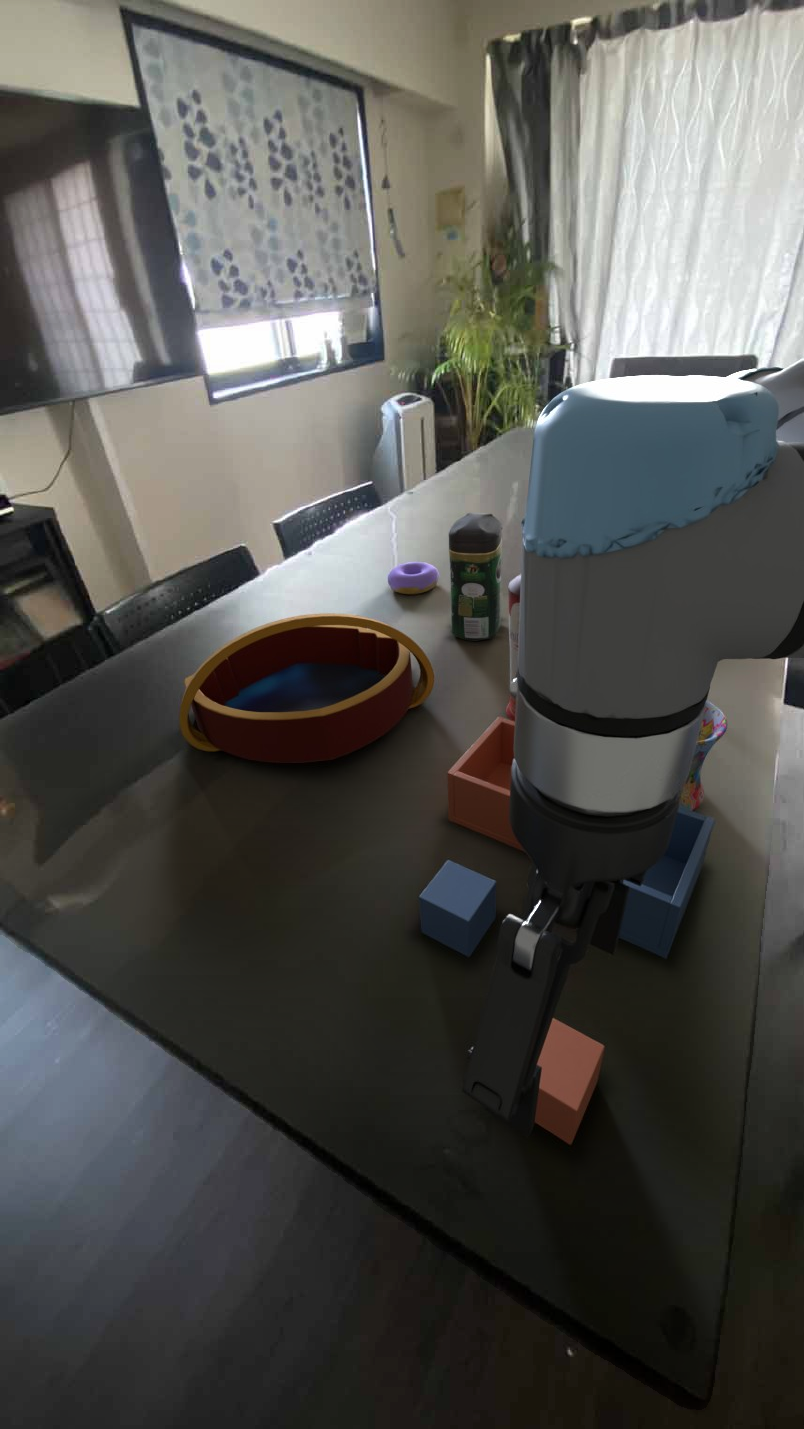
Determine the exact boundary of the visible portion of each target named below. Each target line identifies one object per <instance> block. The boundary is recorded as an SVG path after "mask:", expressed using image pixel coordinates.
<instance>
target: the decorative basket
mask: <svg viewBox="0 0 804 1429" xmlns="http://www.w3.org/2000/svg"><path fill="white" fill-rule="evenodd" d="M411 654H412V655H413V656H414V658H415V660H416V661H417V663H418V666H419V679H418V682H417V684H416V686H415V687H414V684H413V683H414V681H413V670H412V659H411ZM183 680H184V685H185V690H184V693H183V696H182V698H181V703H180V707H179V716H178V717H179V718H178V719H179V720H178V722H179V729H180V732H181V734H182V736H183V738H184V739H185V740H186V742H187V743H188V744H189V745H191V746H192V747H194V748H196V749H198V750H200V751H204V752H219V751H220V752H221V751H222V752H224V753H228V754H230V755H233V756H236V757H239V758H242V759H246V760H251V761H255V762H257V761H258V762H263V763H277V764H278V763H280V764H294V763H295V764H296V763H297V764H298V763H300V764H301V763H312V762H320V761H331V760H335V759H337V758H340V757H343V756H345V755H348V754H351V753H353V752H355V751H357V750H359V749H361V748H363V747H366V746H367V745H369V744H371V743H372V742H374V741H376V740H377V739H379V738H381V737H382V736H384V735H385V734H386V733H388V732H389V731H391V729H393V728H394V727H395V726H396V725H397V724H398V723H399V722H400V721H401V720H402V719H403V717H404V716H405V714H406V713H407V711H408V710H409V709H412V708H415V707H418V706H419V705H421V704H423V703H424V702H425V701H426V700H427V699H428V698H429V696H430V695H431V693H432V691H433V689H434V684H435V672H434V669H433V666H432V664H431V661H430V659H429V658H428V656H427V655H426V653H425V651H424V650H423V649H422V648H421V647H420V646H419V645H418V644H417V643H416V642H415V641H414V640H413V639H412V638H411V637H409V636H408V635H406V634H405V633H404V632H402V631H400V630H399V629H397V628H395V627H393V626H391V625H389V624H387V623H385V622H382V621H381V620H380V621H379V620H377V619H373V618H370V617H365V616H361V615H355V614H348V613H334V612H333V613H330V612H329V613H328V612H327V613H311V614H309V613H308V614H302V615H295V616H290V617H285V618H281V619H278V620H273V621H271V622H268V623H267V622H266V623H265V624H262V625H259V626H257V627H255V628H252V629H250V630H248V631H246V632H244V633H242V634H240V635H238V636H236V637H234V638H232V639H231V640H229V641H228V642H226V643H225V644H223V645H222V646H220V647H219V648H218V649H217V650H215V651H214V652H213V653H212V654H210V656H208V657H207V658H206V659H205V660H204V661H203V662H202V663H201V664H200V666H199V667H198V668H197V670H196V671H195V672H194V673H193V674H191V675H189V676H187V677H185V678H184V679H183ZM191 708H192V713H193V715H194V720H195V722H196V726H197V727H198V729H196V728H195V726H194V725H193V723H192V721H191V719H190V710H191Z"/></svg>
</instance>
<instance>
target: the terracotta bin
mask: <svg viewBox="0 0 804 1429" xmlns="http://www.w3.org/2000/svg"><path fill="white" fill-rule="evenodd" d="M514 731H515V721H513V720H512V719H508V718H506V717H502V716H497V718H496V719H495V720H494V721H493V722H492V723H491V725H490V726H488V728H486V730H485V731H484V732H483V733H482V734H481V735H480V737H479V738H478V739H477V740H476V741H475V742H474V743H473V744H472V745H471V747H470V748H468V749H467V751H465V753H464V754H463V755H461V757H460V758H459V759H458V760H457V761H456V762H455V764H454V765H453V766H452V767H451V768H450V769H449V770H448V771H447V773H446V774H447V775H446V776H447V803H448V804H447V805H448V806H447V807H448V821H450V822H452V823H455V824H457V825H460V826H462V827H465V828H467V829H469V830H471V831H474V832H477V833H479V834H481V835H484V836H485V837H489V838H491V839H494V840H496V841H499V842H501V843H503V844H505V845H507V846H510V847H513V848H515V849H518V850H520V851H523V852H524V853H526V851H525V850H524V849H523V847H522V846H521V845H520V843H519V842H518V840H517V839H516V837H515V835H514V833H513V831H512V828H511V824H510V819H509V804H510V786H511V768H512V762H513V759H514V750H513V749H514Z"/></svg>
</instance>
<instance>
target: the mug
mask: <svg viewBox="0 0 804 1429" xmlns="http://www.w3.org/2000/svg"><path fill="white" fill-rule="evenodd" d="M727 729H728V721H727V717H726V715H725V714H724V713H723V711H722V710H721V709H720V708H719V707H717V706H716V705H715V704H713V703H712V702H710V701H709V700H708V699H707V700H706V709H705V713H704V717H703V721H702V725H701V729H700V732H699V736H698V740H697V744H696V748H695V752H694V756H693V759H692V763H691V767H690V771H689V775H688V777H687V780H686V783H685V785H684V786H683V787H682V795H681V800H680V804H679V807H681V808H684V809H687V810H690V811H694V810H696V809H697V808H699V806H700V805H701V804H702V802H703V800H704V797H705V791H704V787H703V785H702V782H701V780H702V779H701V774H702V768H703V765H704V762H705V759H706V757H707V756H708V754H709V752H710V751H711V750H712V749H713V747H714V745H715V744H716V743H717V742H718V741H719V740H720V739H721V738H722V737H723V736H724V735H725V734H726V731H727Z"/></svg>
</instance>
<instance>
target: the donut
mask: <svg viewBox="0 0 804 1429" xmlns="http://www.w3.org/2000/svg"><path fill="white" fill-rule="evenodd" d="M439 579H440V573H439V570H438V568H436V567H435V566H434V565H433V564H430V563H427V562H421V561H410V562H405V563H402V564H398V565H396V566H395V567H393V568H392V569H391V570H390V571H389V573H388V575H387V583H388V586H389V587H390V588H391V590H393V591H394V592H395V593H399V594H403V595H417V594H423V593H425V592H428V591H430V590H431V589H433V588H435V586H437V584H438V582H439Z"/></svg>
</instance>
